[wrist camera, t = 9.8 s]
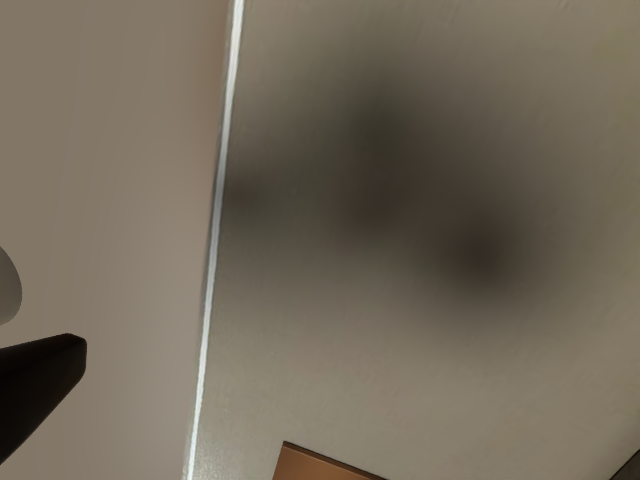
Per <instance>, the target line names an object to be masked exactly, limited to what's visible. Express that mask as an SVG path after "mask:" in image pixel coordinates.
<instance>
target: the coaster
mask: <svg viewBox="0 0 640 480" xmlns="http://www.w3.org/2000/svg"><path fill="white" fill-rule="evenodd" d="M273 480H385V479H382V478H380V477H377V476H374V475H372V474H369V473H366V472H364V471H361V470H358V469H356V468H353V467H350V466H348V465H345V464H342V463H340V462H337V461H335V460H332V459H329V458H327V457H324V456H321V455H319V454H316V453H313V452H311V451H308V450H305V449H303V448H300V447H298V446H295V445H292V444H290V443H287V442H283V445H282V448H281V452H280V455H279V459H278V462H277V466H276V469H275V473H274V476H273Z"/></svg>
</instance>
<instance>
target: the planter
mask: <svg viewBox="0 0 640 480" xmlns="http://www.w3.org/2000/svg"><path fill="white" fill-rule="evenodd" d="M612 480H640V451H639V452H638V453H637V454H636V455H635V456H634V457H633V458H632V459H631V460H630V461H629V462H628V463H627V464H626V465H625V466H624V467H623V468H622V469H621V471H620V472H619V473H618V474H617V475H616V476H615V477H614V478H613V479H612Z"/></svg>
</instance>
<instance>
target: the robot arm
mask: <svg viewBox="0 0 640 480" xmlns="http://www.w3.org/2000/svg"><path fill="white" fill-rule="evenodd" d="M86 355H87V343H86V340H85V339H84V338H81V337H78V336H75V335H73V334H69V333H65V334H61V335H56V336H52V337H48V338H44V339H40V340H35V341H31V342H27V343H22V344H19V345H14V346H10V347H5V348H1V349H0V465H1V464H2V463H3V462H4V461H5V460H6V459H7V458H8V457H9V456H10V455H11V454H12V453H13V452H15V451H16V449H18V448H19V446H21V445H22V443H24V442H25V440H26V439H27V438H28V437H29V436H30V435H31V434H32V433H33V432H34V431H35V430H36V429H37V428H38V426H39V425H40V424H41V423H42V422H43V421H44V420H45V419H46V417H48V415H49V414H50V413H51V412H52V411H53V410H54V409H55V408H56V407H57V405H58V404H59V403H60V402H61V401H62V400H63V399H64V398H65V397H66V395H67V394H68V393H69V392H70V391H71V390H72V389H73V388H74V387H75V386H76V384H77V383H78V382H79V381H80V380H81V378H82V376H83V375H84V372H85V369H86Z"/></svg>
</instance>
